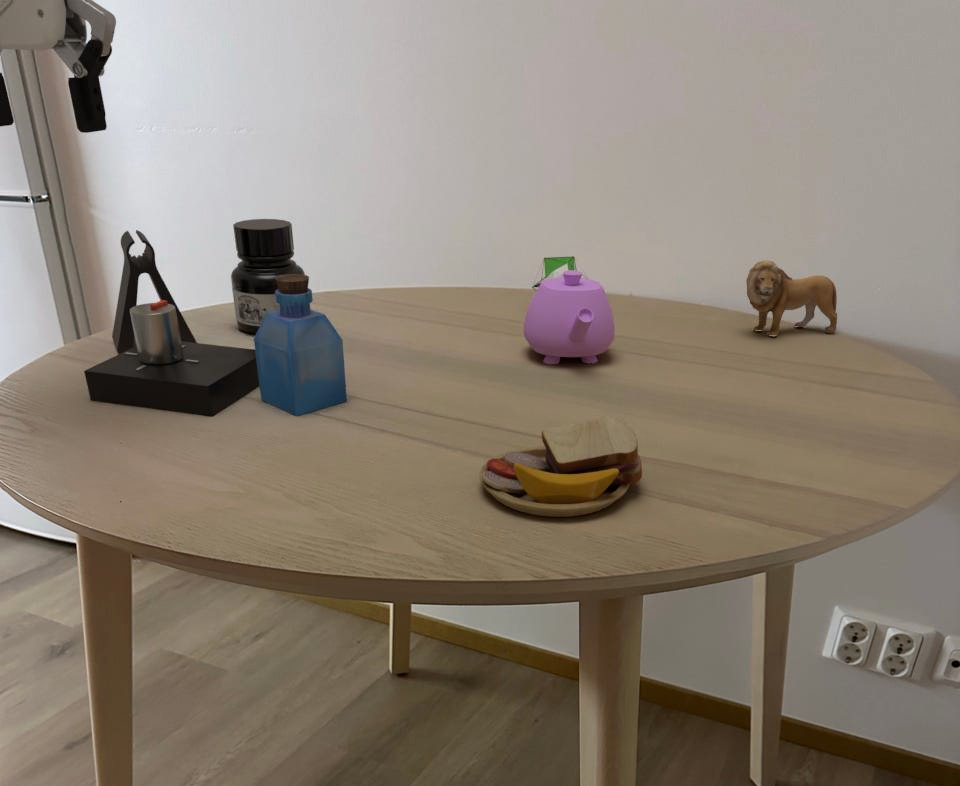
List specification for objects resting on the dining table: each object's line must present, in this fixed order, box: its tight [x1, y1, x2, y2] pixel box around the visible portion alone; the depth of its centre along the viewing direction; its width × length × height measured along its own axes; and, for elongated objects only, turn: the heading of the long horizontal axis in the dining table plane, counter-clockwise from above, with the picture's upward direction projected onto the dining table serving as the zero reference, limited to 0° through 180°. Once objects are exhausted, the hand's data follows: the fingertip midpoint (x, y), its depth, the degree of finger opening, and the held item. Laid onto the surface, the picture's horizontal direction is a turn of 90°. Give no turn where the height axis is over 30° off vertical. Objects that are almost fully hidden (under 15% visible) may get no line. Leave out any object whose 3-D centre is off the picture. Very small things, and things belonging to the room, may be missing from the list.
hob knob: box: [130, 300, 183, 364], centre depth 94 cm, size 4×4×5 cm
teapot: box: [523, 269, 616, 365], centre depth 105 cm, size 10×15×9 cm
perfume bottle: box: [253, 274, 348, 417], centre depth 91 cm, size 6×6×12 cm
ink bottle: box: [230, 218, 306, 335], centre depth 113 cm, size 10×9×12 cm
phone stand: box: [111, 229, 198, 355], centre depth 107 cm, size 9×6×12 cm, turn 113°
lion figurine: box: [746, 259, 838, 336], centre depth 115 cm, size 15×5×9 cm, turn 112°
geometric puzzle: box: [531, 255, 589, 292], centre depth 124 cm, size 7×7×8 cm
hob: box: [83, 341, 260, 417], centre depth 96 cm, size 14×12×3 cm
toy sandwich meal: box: [478, 415, 643, 518], centre depth 76 cm, size 12×14×5 cm
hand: (45, 128), depth 81 cm, fingers open, 9 cm apart
